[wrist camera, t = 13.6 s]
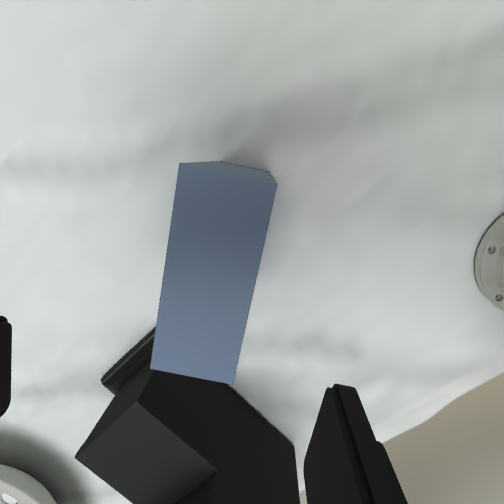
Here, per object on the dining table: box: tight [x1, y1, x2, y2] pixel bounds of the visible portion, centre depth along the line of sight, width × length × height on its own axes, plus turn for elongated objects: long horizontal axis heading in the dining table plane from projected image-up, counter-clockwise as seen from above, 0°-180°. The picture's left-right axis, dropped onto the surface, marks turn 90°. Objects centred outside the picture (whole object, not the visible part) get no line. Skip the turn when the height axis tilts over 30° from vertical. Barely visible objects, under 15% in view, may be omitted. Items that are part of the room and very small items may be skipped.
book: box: [150, 161, 277, 385], centre depth 27 cm, size 12×5×18 cm, turn 168°
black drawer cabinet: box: [75, 327, 300, 504], centre depth 31 cm, size 23×11×24 cm, turn 44°
